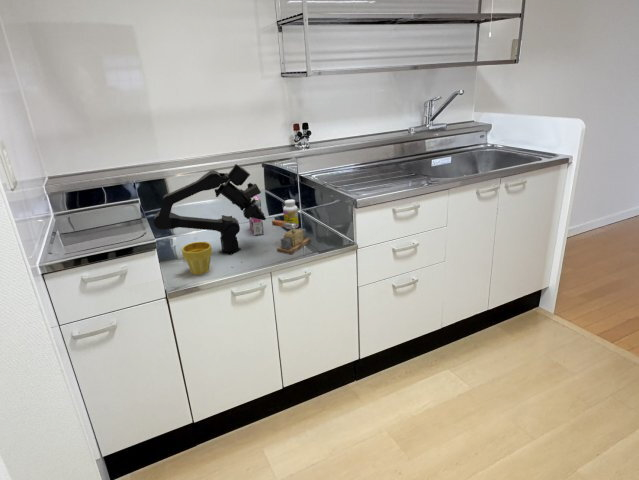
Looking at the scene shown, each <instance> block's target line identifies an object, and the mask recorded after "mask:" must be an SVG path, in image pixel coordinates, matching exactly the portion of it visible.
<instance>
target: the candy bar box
mask: <svg viewBox="0 0 639 480" xmlns="http://www.w3.org/2000/svg"><path fill="white" fill-rule="evenodd" d="M251 199H252V200H253V199H255V201H256V204H257V205H258V208H259V209H260V210H261V211H262V204H261V203H262V202H261V199H260V198H259V196H258V194H257V195H256V196H254V197H253V198H251ZM252 200H251V201H252ZM248 221H249V228H250V231H251V233H252V235H253V236H256V237H257V236H261V235H262V236H263V235H264V225H263V220H261V219H256V218H251V217H250V218H249V219H248Z"/></svg>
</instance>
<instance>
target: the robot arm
mask: <svg viewBox="0 0 639 480" xmlns="http://www.w3.org/2000/svg"><path fill="white" fill-rule="evenodd" d="M250 176H251V174H250V172H248V171H247V170H246V169H245V168H244V167H242V166H240V165H238V164H237V163H235V164H234V165H233V167H232V169H231V170H230V171H229V172H218V171H217V170H209V171H208V172H205V174H203V175H202V176H201V177H199V179H197V180H195V181H193V182H191V183H189V184H188V185H185V186H182V187H180V188H179V189H178V188H177V189H176V190H174V191H172V192H169V193H166V194H164V196H163V199H162V204H161V207H160V210H159V211H157V213H156V214H155V215H154V218H153V224H154V227H155V228H156V229H157V230H160V231H163V230H165V231H166V230H173V229H178V228H182V229H183V228H184V229H193V230H206V231H207V230H208V231H215V232H218V233H220V237H219V239H220V246H221V250H220V251H219V253H221V254H225V255H230V256H232V255H233V254H235V253H237V252H239V251H241V250H242V248H241V247H240V245H239V240H238V237H237V235H238V234H239V233H240V230H241V227H240V223H239V221H238V220H237V218H235V217H233V215H230V216H229V215H228V216H227V215H224V214H222V215H221V218H218V219H216V218H215V219H213V218H204V217H193V216H185V215H184V216H183V215H179V214H177V213H174V212H172V208H173V205H174V204H176V203H179V202H181V201H182V200H185V199H187V198H190V197H192V196H194V195H196V194H199V193H200V192H204V191H210V190H214V193H215V198H218V197H220V195H222V196H223V197H225V198H226V199H227V200H229V202H231V204H232V205H235V206H237V207H238V208H239V210H240V211H242V214H243V217H244V218H245V219H247V220H249V218H250V217H251V218H256V219H261V220H262V221H266V220H267V217H266V216H265V214H264V212H263V210H262V209H261V210H260V209H259V208H258V205H257V204H256V201H255V199H253V200H252V199H251V198H253V197H254V196H256V195H257V196H258V195H259V194H261V193H262V191H261V190H260V188H259V186H258V185H257V183H252V182H249V183H247V185H246V186H247V188H246V189H245V190H244V189H242V188H238V186H243V184H244V183H245V182H246V180H247V179H248V178H249V177H250ZM251 200H252V201H251Z"/></svg>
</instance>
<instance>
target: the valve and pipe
mask: <svg viewBox="0 0 639 480" xmlns="http://www.w3.org/2000/svg"><path fill="white" fill-rule="evenodd" d="M306 238H308V237H307V232H306V228H302V227H299V228H291V229H289V231H286V232H285V233H284V235H283V237H282V238H281V239H280V246H281V248H283V249H288V250H290V249H291V248H293V246H296V245H298V244H299V243H301V242H302V241H303V240H305V239H306Z"/></svg>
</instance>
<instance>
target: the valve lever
mask: <svg viewBox="0 0 639 480" xmlns="http://www.w3.org/2000/svg"><path fill="white" fill-rule="evenodd" d="M271 223H272V226H273V227H280V228H283V227H284V228H285V226H288V227H290V228H295V229H297V228H296V223H285V221H284V220H280V219H279V220H278V219H273V220H272V221H271Z"/></svg>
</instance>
